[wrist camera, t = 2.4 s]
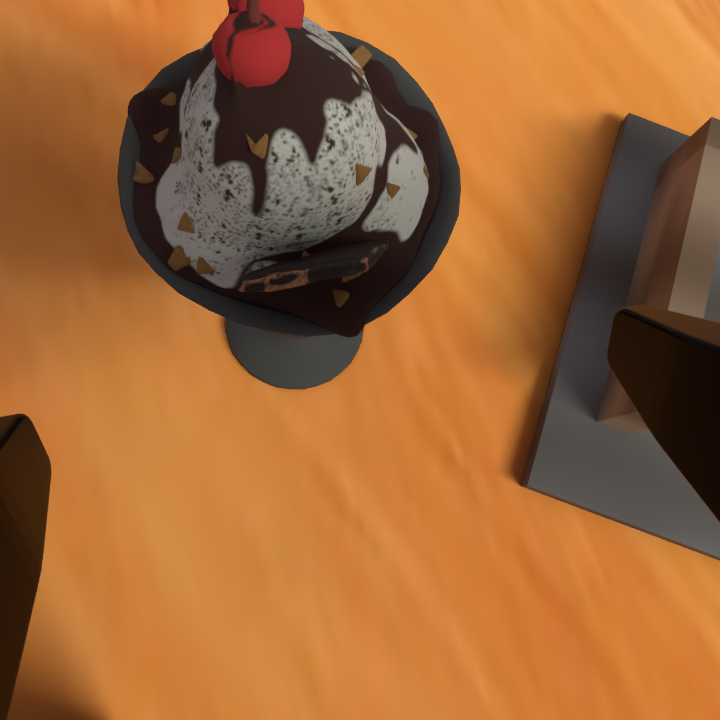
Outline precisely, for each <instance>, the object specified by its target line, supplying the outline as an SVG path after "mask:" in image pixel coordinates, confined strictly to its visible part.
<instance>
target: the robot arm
mask: <svg viewBox="0 0 720 720" xmlns="http://www.w3.org/2000/svg"><path fill="white" fill-rule="evenodd" d="M607 360H608V363H609V366H610V368H611V370H612V371H613V373H614V375H615V376H616V378H617V379H618V381H619V383H620V384H621V386H622V387H623V389H624V391H625V392H626V394H627V395H628V397H629V399H630V400H631V402H632V404H633V405H634V407H635V408H636V410H637V412H638V413H639V415H640V416H641V418H642V420H643V421H644V423H645V425H646V426H647V428H648V429H649V431H650V432H651V434H652V435H653V437H654V438H655V440H656V441H657V442H658V444H659V445H660V446H661V448H662V449H663V450H664V452H665V453H666V454H667V456H668V457H669V458H670V459H671V461H672V462H673V463H674V465H675V466H676V467H677V468H678V470H679V471H680V472H681V474H682V475H683V476H684V477H685V479H686V480H687V481H688V483H689V484H690V485H691V486H692V488H693V489H694V490H695V492H696V493H697V494H698V495H699V497H700V498H701V499H702V501H703V502H704V503H705V504H706V506H707V507H708V508H709V510H710V511H711V512H712V513H713V515H714V516H715V517H716V519H717V520H718V521H719V522H720V323H718V322H714V321H710V320H706V319H702V318H698V317H693V316H689V315H685V314H681V313H677V312H673V311H669V310H665V309H661V308H656V307H652V306H648V305H635V306H630V307H624V308H621V309H619V310H618V311H617V312H616V313H615V315H614V318H613V323H612V328H611V333H610V338H609V344H608V349H607ZM50 482H51V464H50V460H49V457H48V455H47V452H46V450H45V448H44V446H43V444H42V442H41V440H40V438H39V436H38V433H37V431H36V429H35V427H34V425H33V423H32V421H31V420H30V418H29V417H28V416H26V415H24V414H14V415H9V416H3V417H0V720H7V718H8V714H9V709H10V705H11V701H12V696H13V692H14V688H15V683H16V679H17V675H18V670H19V666H20V662H21V657H22V653H23V648H24V644H25V640H26V635H27V631H28V627H29V622H30V618H31V614H32V609H33V605H34V601H35V596H36V592H37V588H38V583H39V578H40V573H41V568H42V560H43V553H44V542H45V532H46V522H47V512H48V502H49V492H50Z"/></svg>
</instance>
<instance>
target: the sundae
mask: <svg viewBox="0 0 720 720" xmlns="http://www.w3.org/2000/svg"><path fill="white" fill-rule="evenodd" d="M228 6H229V15H228V16H227V17H226V18H225V20H224V21H223V22H222V23H221V24H220V26H219V27H218V29H217V30H216V31H215V33H214V34H213V38H212V40H211V41H209V42H208V43H207V44H205V45H204V46H203V48H201V49H198V50H196V51H194V52H191V53H189V54H186V55H185V56H183V57H181V58H180V59H178V60H176V61H175V62H173V63H171V64H170V65H168V66H166V67H165V68H163V69H162V70H161V71H160V72H159V73H158V74H157V75H156V76H155V78H154V79H153V80H152V81H151V82H150V83H149V84H148V86H147V87H146V88H145V89H144V90H143V91H141V92H139V93H138V94H136V95H134V96H133V98H132V99H131V100H130V103H129V106H128V117H127V120H126V125H125V129H124V134H123V138H122V143H121V147H120V154H119V165H118V177H117V179H118V187H119V195H120V203H121V209H122V212H123V216H124V219H125V223H126V226H127V230H128V232H129V234H130V236H131V238H132V240H133V242H134V244H135V246H136V248H137V250H138V252H139V254H140V255H141V256H142V257H143V258H144V259H145V261H146V262H147V263H148V264H149V265H150V266H151V268H152V269H153V270H154V271H155V272H156V273H157V274H158V275H159V276H160V277H162V278H163V279H164V280H165V281H166V282H167V283H168V284H169V285H170V286H171V287H172V288H174V289H175V290H176V291H177V292H178V293H179V294H181V295H183V296H185V297H186V298H188V299H190V300H192V301H194V302H195V303H197V304H199V305H201V306H202V307H204V308H206V309H208V310H210V311H212V312H214V313H217V314H219V315H221V316H223V317H226V333H227V337H228V341H229V344H230V347H231V349H232V352H233V354H234V356H235V357H236V358H237V360H238V361H239V362H240V364H241V365H242V366H243V367H244V368H245V369H246V370H247V371H248V372H249V373H250V374H251V375H252V376H254V377H256V378H257V379H259V380H261V381H263V382H265V383H267V384H270V385H272V386H274V387H278V388H285V389H307V388H311V387H315V386H318V385H321V384H323V383H326V382H328V381H330V380H332V379H333V378H334V377H336V376H337V375H339V374H340V373H341V372H342V371H343V370H344V369H345V368H346V367H347V366H348V365H349V364H350V363H351V362H352V360H353V358H354V356H355V355H356V353H357V351H358V349H359V346H360V344H361V342H362V336H363V328H364V326H365V324H367V323H369V322H371V321H373V320H375V319H376V318H378V317H380V316H382V315H384V314H386V313H387V312H389V311H390V310H391V309H392V308H393V307H394V306H396V305H397V304H398V303H399V302H400V301H401V300H403V299H404V298H405V297H406V296H407V295H408V294H409V293H410V292H411V291H412V290H413V289H414V288H415V287H416V286H417V285H418V284H419V283H420V282H421V281H422V280H423V279H424V278H425V277H426V275H427V274H428V273H429V272H430V271H431V270H432V269H433V267H434V265H435V264H436V262H437V260H438V258H439V257H440V255H441V253H442V251H443V250H444V248H445V246H446V244H447V243H448V240H449V238H450V235H451V233H452V230H453V228H454V225H455V223H456V220H457V218H458V215H459V204H460V193H461V184H460V169H459V165H458V162H457V159H456V155H455V152H454V149H453V146H452V144H451V141H450V139H449V136H448V134H447V132H446V129H445V127H444V125H443V123H442V121H441V119H440V117H439V115H438V113H437V111H436V109H435V107H434V105H433V103H432V102H431V101H430V99H429V98H428V97H427V95H426V94H425V93H424V91H423V90H422V89H421V87H420V86H419V85H418V83H417V82H416V81H415V80H414V79H413V78H412V77H411V76H410V75H409V73H408V72H407V71H406V70H405V69H404V68H403V67H402V66H401V65H400V64H399V63H398V62H397V61H396V60H395V59H394V58H392V57H390V56H389V55H387V54H385V53H384V52H382V51H380V50H379V49H377V48H375V47H374V46H372V45H370V44H369V43H367V42H364V41H362V40H359V39H356V38H354V37H351V36H349V35H346V34H343V33H341V32H335V31H326V30H325V29H323V28H322V27H321V26H320V25H318V24H316V23H315V22H313V21H311V20H310V19H308V18H307V17H303V16H304V3H303V0H228Z"/></svg>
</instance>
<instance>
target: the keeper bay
mask: <svg viewBox="0 0 720 720" xmlns="http://www.w3.org/2000/svg"><path fill="white" fill-rule="evenodd" d="M635 305H648V306H652V307H656V308H661V309H665V310H669V311H673V312H677V313H681V314H685V315H689V316H693V317H698V318H702V319H706V320H710V321H714V322H718V323H720V120H718V119H716V118H713V117H711V118H710V119H709V120H708V121H707V122H706V123H705V124H704V125H703V126H702V127H700V128H699V129H698V130H697V131H696V132H695V133H694V134H693V135H692V136H691V137H690V136H688V135H685V134H682V133H680V132H677V131H675V130H672V129H670V128H667V127H664V126H662V125H659V124H657V123H654V122H651V121H649V120H646V119H644V118H641V117H639V116H636V115H633V114H631V113H629V114H628V115H627V116H626V117H625V119H624V120H623V121H622V122H621V126H620V129H619V133H618V136H617V140H616V144H615V147H614V151H613V155H612V158H611V162H610V165H609V169H608V173H607V176H606V180H605V184H604V187H603V191H602V194H601V198H600V202H599V205H598V209H597V212H596V216H595V220H594V223H593V227H592V231H591V234H590V238H589V241H588V245H587V249H586V252H585V256H584V260H583V263H582V267H581V270H580V274H579V278H578V281H577V285H576V289H575V292H574V296H573V299H572V303H571V307H570V310H569V314H568V317H567V321H566V325H565V328H564V332H563V336H562V339H561V343H560V346H559V350H558V354H557V357H556V361H555V365H554V368H553V372H552V375H551V379H550V383H549V386H548V390H547V393H546V397H545V401H544V404H543V408H542V412H541V415H540V419H539V422H538V426H537V430H536V433H535V437H534V441H533V444H532V448H531V451H530V455H529V459H528V462H527V466H526V469H525V473H524V477H523V480H522V484H521V486H522V487H525V488H528V489H530V490H533V491H536V492H538V493H541V494H544V495H546V496H549V497H552V498H554V499H557V500H560V501H562V502H565V503H568V504H570V505H573V506H576V507H578V508H581V509H584V510H587V511H589V512H592V513H595V514H597V515H600V516H603V517H605V518H608V519H611V520H613V521H616V522H619V523H621V524H624V525H627V526H629V527H632V528H635V529H637V530H640V531H643V532H645V533H648V534H651V535H653V536H656V537H659V538H661V539H664V540H667V541H669V542H672V543H675V544H677V545H680V546H683V547H685V548H688V549H691V550H693V551H696V552H699V553H701V554H704V555H707V556H709V557H712V558H715V559H717V560H720V522H719V521H718V520H717V519H716V517H715V516H714V515H713V513H712V512H711V511H710V510H709V508H708V507H707V506H706V504H705V503H704V502H703V501H702V499H701V498H700V497H699V495H698V494H697V493H696V492H695V490H694V489H693V488H692V486H691V485H690V484H689V483H688V481H687V480H686V479H685V477H684V476H683V475H682V474H681V472H680V471H679V470H678V468H677V467H676V466H675V465H674V463H673V462H672V461H671V459H670V458H669V457H668V456H667V454H666V453H665V452H664V450H663V449H662V448H661V446H660V445H659V444H658V442H657V441H656V440H655V438H654V437H653V435H652V434H651V432H650V431H649V429H648V428H647V426H646V425H645V423H644V421H643V420H642V418H641V416H640V415H639V413H638V412H637V410H636V408H635V407H634V405H633V404H632V402H631V400H630V399H629V397H628V395H627V394H626V392H625V391H624V389H623V387H622V386H621V384H620V383H619V381H618V379H617V378H616V376H615V375H614V373H613V371H612V370H611V368H610V366H609V363H608V360H607V349H608V344H609V338H610V333H611V328H612V323H613V318H614V315H615V313H616V312H617V311H618V310H619V309H621V308H624V307H630V306H635Z"/></svg>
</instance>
